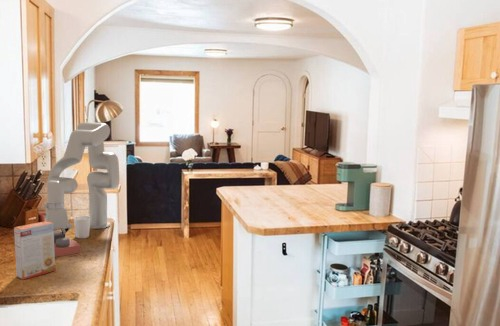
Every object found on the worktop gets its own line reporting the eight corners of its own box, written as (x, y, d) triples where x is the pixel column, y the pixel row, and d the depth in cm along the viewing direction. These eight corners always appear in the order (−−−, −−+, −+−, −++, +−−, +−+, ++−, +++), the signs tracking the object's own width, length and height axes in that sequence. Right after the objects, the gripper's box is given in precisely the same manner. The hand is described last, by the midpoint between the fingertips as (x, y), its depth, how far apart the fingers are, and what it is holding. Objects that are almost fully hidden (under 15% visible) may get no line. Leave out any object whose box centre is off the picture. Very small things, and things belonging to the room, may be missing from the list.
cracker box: (48, 267, 205) (47, 220, 202) (55, 271, 201) (54, 222, 198) (15, 276, 194) (13, 226, 191) (22, 280, 190) (20, 229, 188)
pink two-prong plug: (39, 247, 230) (39, 234, 229) (69, 243, 239) (69, 230, 238) (49, 257, 217) (49, 243, 216) (80, 252, 226) (80, 239, 225)
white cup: (80, 239, 245) (79, 220, 244) (71, 236, 250) (70, 217, 248) (93, 236, 251) (93, 217, 250) (84, 233, 256) (84, 215, 255)
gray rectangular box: (49, 242, 233) (48, 232, 232) (59, 240, 236) (59, 230, 235) (53, 246, 228) (53, 235, 227) (64, 244, 231) (63, 234, 230)
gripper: (39, 209, 221) (39, 247, 224) (76, 205, 232) (76, 241, 234) (34, 206, 227) (35, 243, 230) (71, 202, 238) (72, 238, 240)
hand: (56, 242), depth 232 cm, fingers closed on gray rectangular box, 5 cm apart
